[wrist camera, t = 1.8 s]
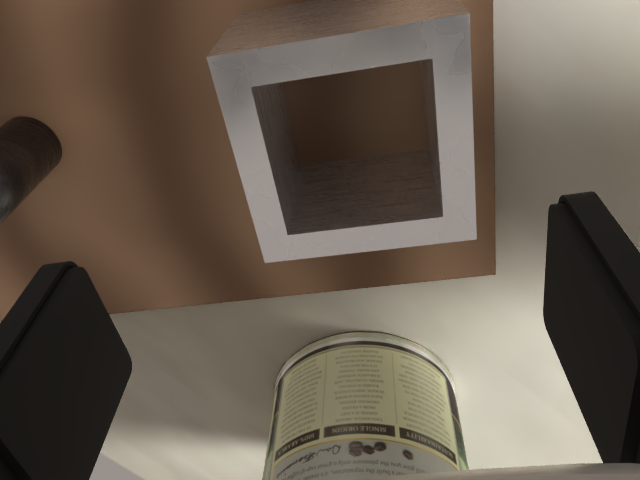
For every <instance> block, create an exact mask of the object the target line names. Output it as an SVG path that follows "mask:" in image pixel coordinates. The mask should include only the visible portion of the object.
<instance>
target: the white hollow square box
mask: <svg viewBox="0 0 640 480" xmlns="http://www.w3.org/2000/svg"><path fill="white" fill-rule="evenodd" d="M206 58H207V61H208V65H209V68H210V72H211V76H212V79H213V83H214V86H215V90H216V93H217V97H218V100H219V104H220V107H221V111H222V114H223V118H224V121H225V125H226V128H227V132H228V135H229V139H230V142H231V146H232V149H233V153H234V156H235V160H236V163H237V167H238V170H239V174H240V177H241V181H242V184H243V188H244V191H245V195H246V199H247V202H248V206H249V209H250V213H251V216H252V220H253V223H254V227H255V230H256V234H257V237H258V241H259V244H260V248H261V251H262V255H263V258H264V262H265V263H270V262H279V261H288V260H297V259H306V258H315V257H324V256H333V255H342V254H351V253H360V252H369V251H378V250H387V249H396V248H405V247H414V246H423V245H432V244H441V243H450V242H459V241H467V240H476V239H477V229H476V198H475V166H474V134H473V103H472V71H471V40H470V13H469V11H468V10H467V8H466V7H465V5H464V4H463V2H462V1H461V0H313V1H307V2H301V3H296V4H290V5H285V6H279V7H273V8H268V9H262V10H256V11H251V12H245V13H239V14H238V15H237V16H236V17H235V19H234V20H233V22H232V23H231V24H230V26H229V27H228V28H227V30H226V31H225V32H224V34H223V35H222V36H221V38H220V39H219V40H218V42H217V43H216V45H215V46H214V47H213V49H212V50H211V51H210V53H209V54H208V55H207V57H206ZM419 60H421V72H422V85H423V97H424V110H425V122H426V135H427V147H428V148H427V149H419V150H412V151H405V152H397V153H390V154H382V155H375V156H368V157H360V158H353V159H345V160H338V161H331V162H323V163H316V164H308V165H300V161H299V156H298V151H297V147H296V142H295V138H294V133H293V128H292V124H291V119H290V114H289V110H288V105H287V101H286V96H285V91H284V87H283V82H286V81H292V80H299V79H305V78H311V77H318V76H324V75H330V74H337V73H343V72H349V71H356V70H362V69H368V68H375V67H381V66H387V65H394V64H400V63H407V62H413V61H419Z"/></svg>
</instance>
